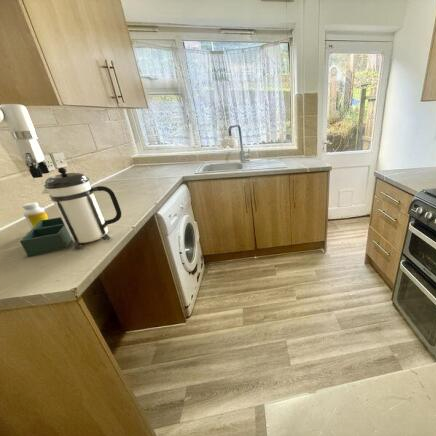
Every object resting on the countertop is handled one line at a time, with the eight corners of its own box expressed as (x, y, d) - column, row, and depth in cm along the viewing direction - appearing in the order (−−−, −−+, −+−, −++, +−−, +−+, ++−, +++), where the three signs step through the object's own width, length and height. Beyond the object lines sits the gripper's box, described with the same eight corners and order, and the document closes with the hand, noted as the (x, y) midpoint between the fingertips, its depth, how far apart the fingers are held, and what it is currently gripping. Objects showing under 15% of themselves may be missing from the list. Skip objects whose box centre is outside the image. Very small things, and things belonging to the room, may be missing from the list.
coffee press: (94, 250, 92) (59, 172, 80) (60, 248, 95) (20, 172, 83) (129, 229, 108) (104, 161, 95) (98, 228, 111) (70, 162, 98)
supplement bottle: (57, 227, 112) (43, 201, 107) (39, 234, 106) (24, 207, 101) (48, 226, 114) (34, 200, 109) (30, 232, 108) (15, 206, 103)
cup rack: (27, 256, 90) (19, 241, 87) (47, 233, 107) (40, 220, 104) (66, 248, 95) (59, 233, 92) (78, 228, 112) (73, 215, 109)
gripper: (21, 135, 109) (37, 172, 116) (3, 137, 95) (23, 180, 102) (43, 134, 113) (57, 171, 119) (29, 136, 99) (46, 178, 106)
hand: (41, 175), depth 111 cm, fingers open, 9 cm apart
